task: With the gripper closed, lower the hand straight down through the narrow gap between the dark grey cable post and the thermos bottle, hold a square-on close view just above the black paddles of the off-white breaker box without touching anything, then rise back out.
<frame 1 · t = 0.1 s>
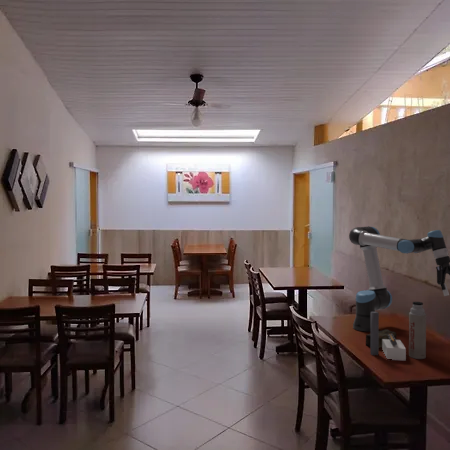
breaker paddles: (392, 339, 233), point 8 cm above the table, hinge at 20.0°
cable post: (374, 354, 235), on the table
beverage carton: (381, 344, 252), on the table
thermos bottle: (417, 356, 231), on the table
breaker box: (393, 355, 233), on the table
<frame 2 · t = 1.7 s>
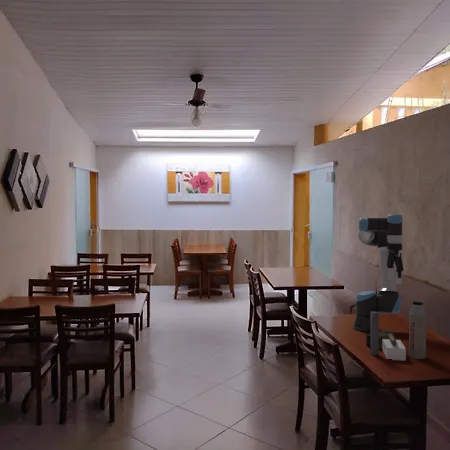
hand: (394, 281, 245), 36 cm above the table, tool pointing down, fingers open, 13 cm apart
nothing on the table moved.
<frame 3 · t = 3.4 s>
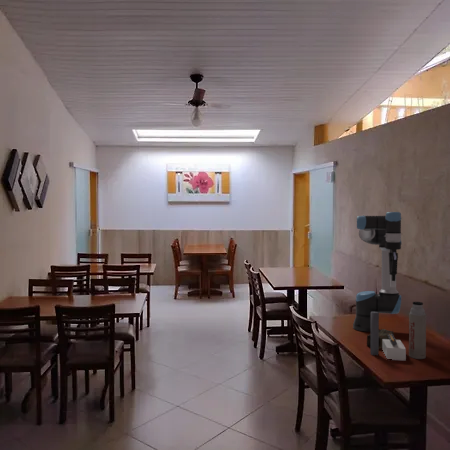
hand: (393, 286, 234), 35 cm above the table, tool pointing down, fingers closed
nothing on the table moved.
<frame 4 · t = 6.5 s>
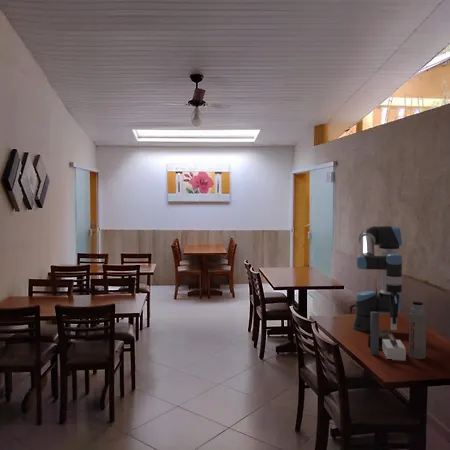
hand: (393, 329, 232), 13 cm above the table, tool pointing down, fingers closed
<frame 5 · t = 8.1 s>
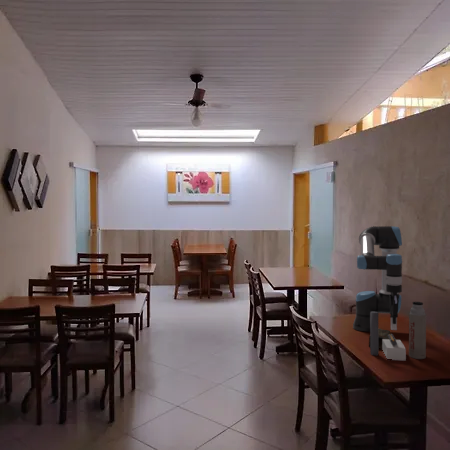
hand: (393, 329, 232), 13 cm above the table, tool pointing down, fingers closed
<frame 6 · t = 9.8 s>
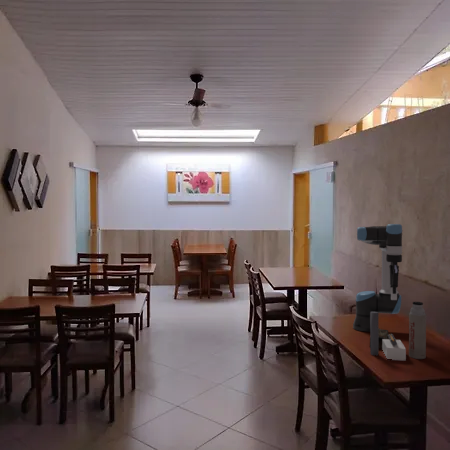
hand: (393, 299, 232), 29 cm above the table, tool pointing down, fingers closed
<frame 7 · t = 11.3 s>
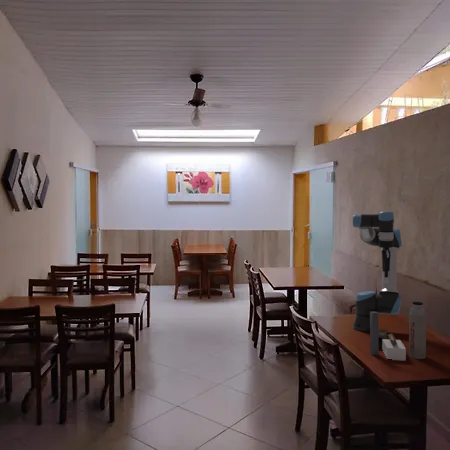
hand: (385, 282, 245), 35 cm above the table, tool pointing down, fingers closed
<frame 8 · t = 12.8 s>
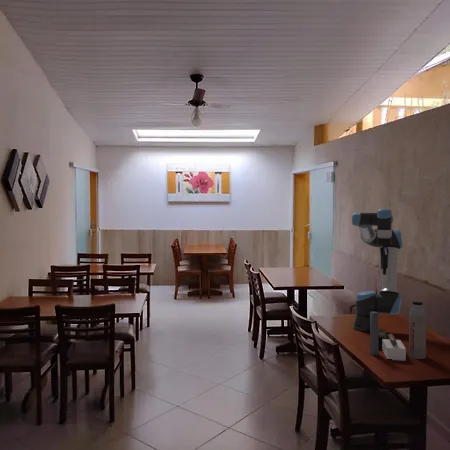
hand: (384, 280, 248), 36 cm above the table, tool pointing down, fingers closed
at the end: thermos bottle moved 0.2 cm from its start; cable post moved 0.0 cm from its start; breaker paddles at +20° (first picture: +20°) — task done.
